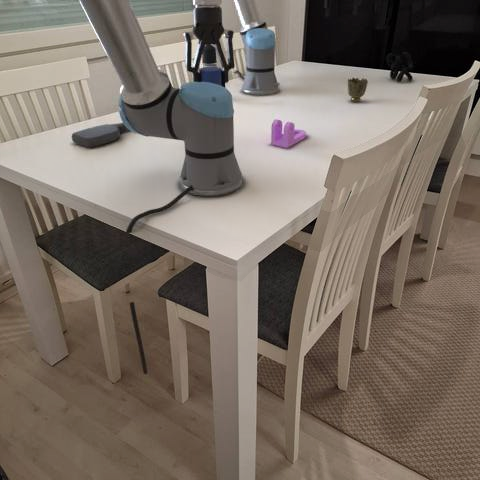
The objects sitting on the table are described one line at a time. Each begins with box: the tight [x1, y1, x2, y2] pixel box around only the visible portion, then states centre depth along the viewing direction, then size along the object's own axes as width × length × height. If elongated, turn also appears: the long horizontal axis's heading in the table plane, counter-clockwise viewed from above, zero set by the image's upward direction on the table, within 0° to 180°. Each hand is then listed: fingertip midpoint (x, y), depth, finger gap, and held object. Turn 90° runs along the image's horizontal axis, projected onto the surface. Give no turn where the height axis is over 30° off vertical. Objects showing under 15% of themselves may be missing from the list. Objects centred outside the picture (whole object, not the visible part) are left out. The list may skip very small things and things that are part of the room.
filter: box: [201, 44, 218, 68], centre depth 171 cm, size 6×6×30 cm
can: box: [198, 66, 223, 86], centre depth 129 cm, size 6×6×10 cm
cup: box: [347, 77, 369, 103], centre depth 170 cm, size 8×7×8 cm
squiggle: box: [385, 51, 414, 83], centre depth 198 cm, size 11×10×15 cm
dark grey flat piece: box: [71, 122, 130, 149], centre depth 142 cm, size 3×11×25 cm
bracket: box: [270, 119, 307, 149], centre depth 134 cm, size 13×6×7 cm, turn 143°
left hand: (211, 95), depth 130 cm, fingers closed on can, 6 cm apart
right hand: (341, 15), depth 186 cm, fingers open, 13 cm apart
